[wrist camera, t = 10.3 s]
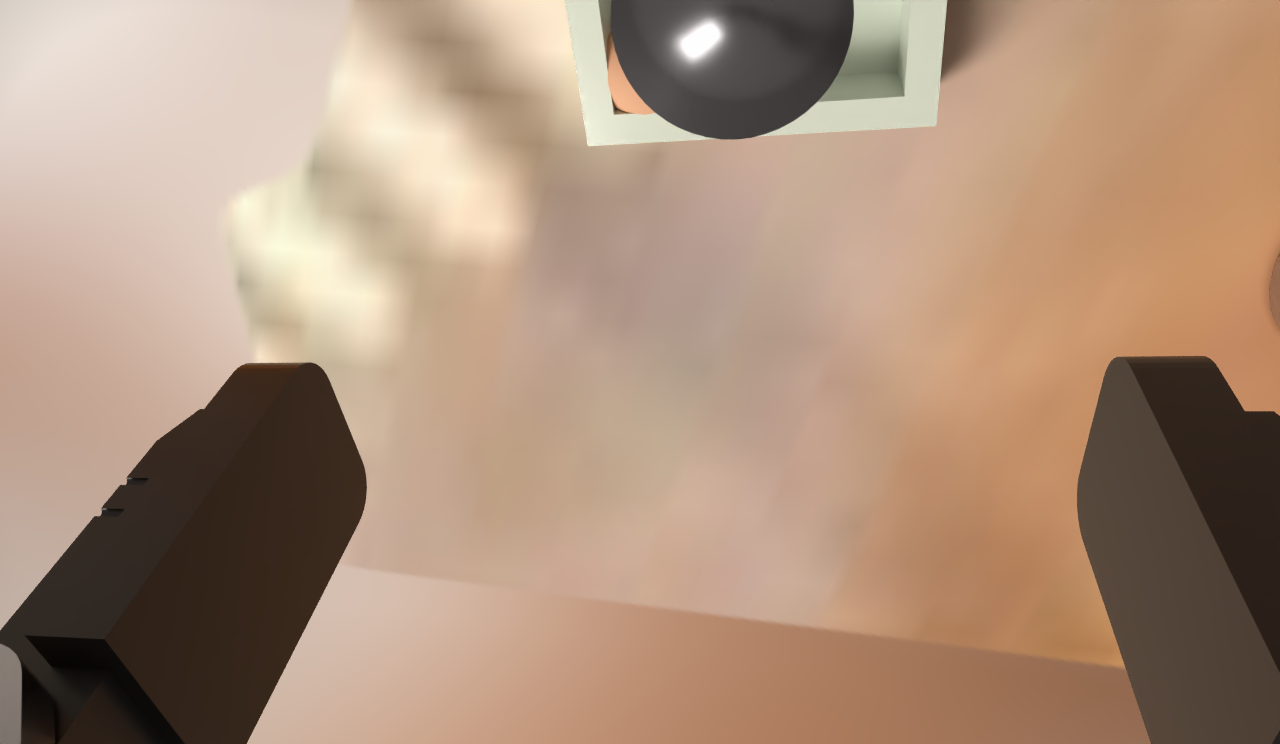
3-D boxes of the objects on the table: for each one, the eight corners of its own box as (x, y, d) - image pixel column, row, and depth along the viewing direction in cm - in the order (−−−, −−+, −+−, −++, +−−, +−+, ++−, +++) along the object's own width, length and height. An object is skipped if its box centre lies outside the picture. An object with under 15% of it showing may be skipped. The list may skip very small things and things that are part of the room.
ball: (698, -2, 29) (689, 32, 26) (701, 94, 31) (694, 134, 28) (600, 3, 29) (583, 36, 27) (610, 97, 31) (595, 137, 29)
